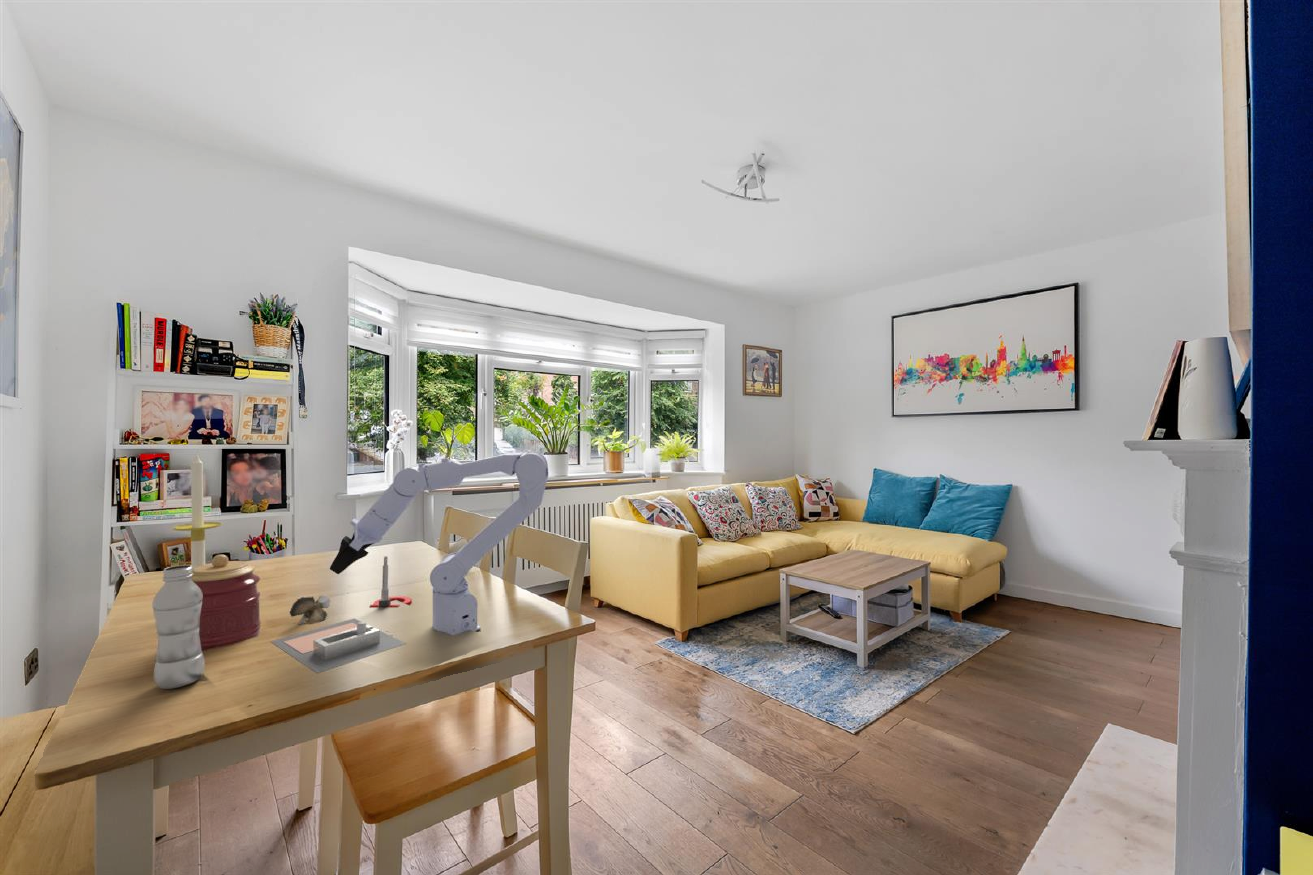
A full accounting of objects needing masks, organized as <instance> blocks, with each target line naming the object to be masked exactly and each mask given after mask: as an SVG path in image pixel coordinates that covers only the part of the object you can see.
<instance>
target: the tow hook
mask: <svg viewBox="0 0 1313 875" xmlns="http://www.w3.org/2000/svg"><path fill="white" fill-rule="evenodd" d="M388 560H389V559H388V556H387V555H385V556H383V565H382V580H381V581H382V584H381V586H382V588H381V594H380V595H381V597H380V598H379V599H377V600H375V601H374V602H373V603H372V604H369V608H379V609H380V608H386V609H387V608H399V607H400V604H392V603H391V602H393V601H397V602H401V603H402V604H405V605H408V606H409V605H411V604H412V602H413V601H412V600H413V599H412V598H411V597H408V596H398V595H397V596H390V597H389V590H390V589H389V565H388Z"/></svg>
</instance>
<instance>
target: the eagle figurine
mask: <svg viewBox="0 0 1313 875" xmlns="http://www.w3.org/2000/svg"><path fill="white" fill-rule="evenodd" d="M330 606H331V599H330V597H328V596H327V595H319V597H318V599H317V600H315V598H314V596H311V597H310V596H307V597H304V596H302V597H300V598H297V599H296V601H295V602H294V603H293V604H292V606H291V607H290V610H289V616H290V617H293V618H294V617H297V616H301V615H302V616H301V618H300V619H299V623H298V626H299V625H301V624H303V623H304V622H305V623H304V625H313V624H318V623H322V622H324V621H325V620H326V618H327V617H328V613H327V612H326V611H325V610H324V609H328V608H329V607H330Z"/></svg>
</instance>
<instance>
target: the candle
mask: <svg viewBox="0 0 1313 875" xmlns="http://www.w3.org/2000/svg"><path fill="white" fill-rule="evenodd" d="M190 488H191V490H190V491H191V493H190V494H191V495H190V498H191V499H190V500H191V504H190V505H191V523H183V524H179V525H176V526H173V530H174V531H178V532H179V531H181V532H182V531H183V532H184V531H185V532H186V531H187V532H189V531H190V565H192V570H193V569H194V568H196V567H198V566H202V565H206V541H205V540H206V530H208V529H210V530H211V529H214V528H217V527H218V528H219V527H220V526H221V525H222V522H218V521H205V522H204V518H205V517H204V462H203V461H202V460H201V459H200V456H199V454H198V451H196V454H195V455H194V458H193V460H192V461H191V462H190Z"/></svg>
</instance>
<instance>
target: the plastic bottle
mask: <svg viewBox="0 0 1313 875" xmlns="http://www.w3.org/2000/svg"><path fill="white" fill-rule="evenodd" d="M162 572H163V576H162V581H163V582H164V584H163V585H162V586H161V587H160V589H159V590H158V591H157V593H155V595H154V597H153V600H152V603H151V605H152V610H153V616H154V619H155V621H154V622H155V624H156V633H157V649H156V650H157V652H156V661H155V664H154V669H153V670H154V671H153V676H152V677H153V680H154V684H155V686H158V688H159V689H161V690H162V689H163V690H168V689H169V690H170V689H171V690H172V689H175V688H176V689H177V688H181V687H184V686H187V685H190V684H192V683H193V684H194V682H196V681H198V680H199V679H200V678H201V677H202V675H203V673H204V672H205V666H206V661H205V656H204V653H203V651H201V643H200V635H199V626H200V613H201V607H202V601H203V594H202V591H201V589H200V588H199V587H198V586H197V585H196V584H195V583H194V582H193V581H192V580H191V577H193V573H192V565H191V564H181V565H180V564H179V565H174V566H168V567H166V568H164V569H163V571H162Z"/></svg>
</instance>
